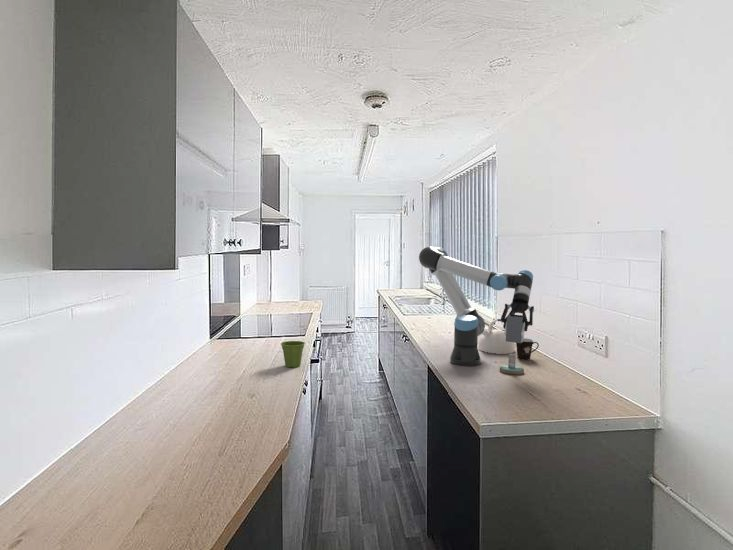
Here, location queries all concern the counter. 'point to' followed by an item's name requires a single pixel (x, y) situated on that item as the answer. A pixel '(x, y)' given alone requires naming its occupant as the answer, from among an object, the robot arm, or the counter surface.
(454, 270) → the robot arm
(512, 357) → the post stand
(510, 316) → the grey square holder
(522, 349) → the coffee mug
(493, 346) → the kettle
